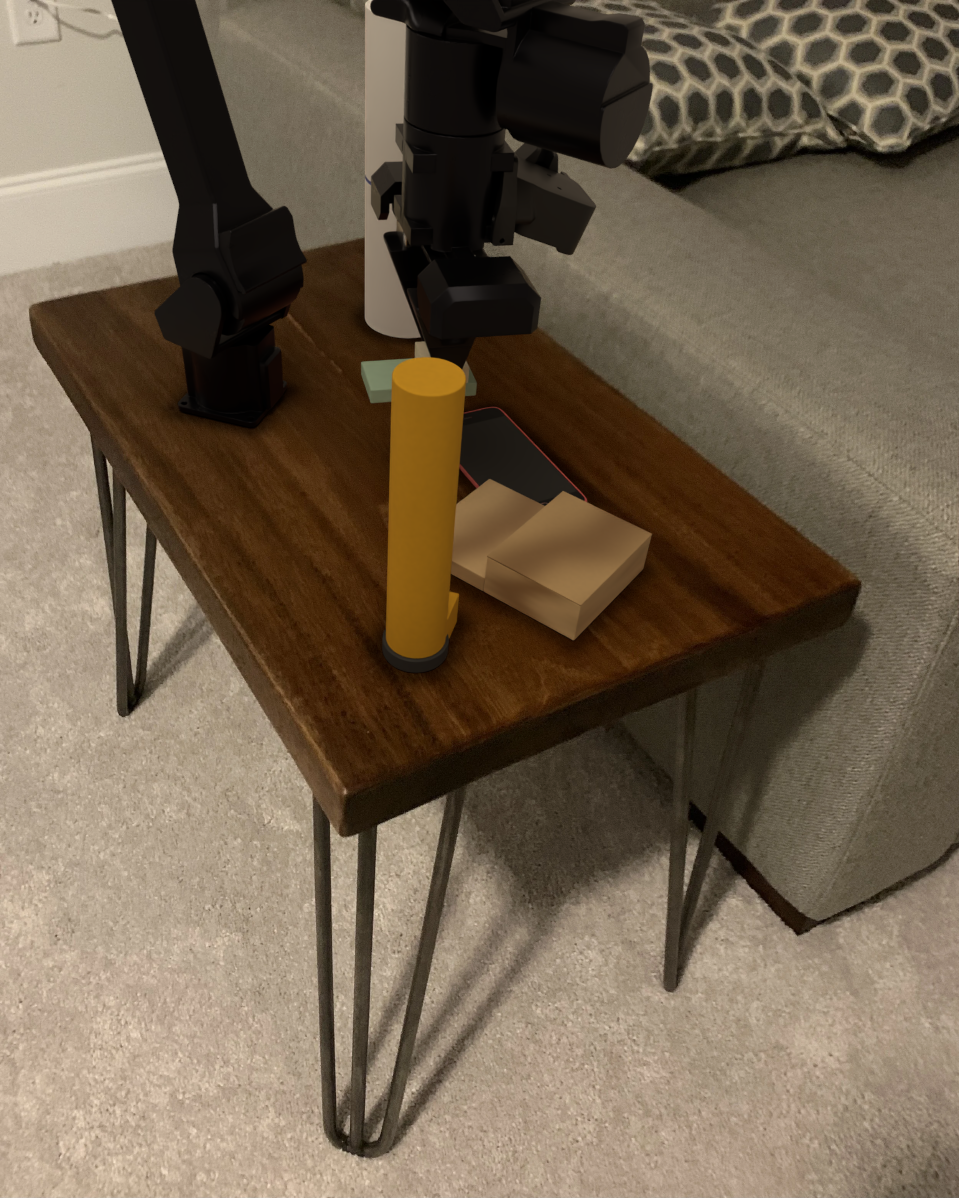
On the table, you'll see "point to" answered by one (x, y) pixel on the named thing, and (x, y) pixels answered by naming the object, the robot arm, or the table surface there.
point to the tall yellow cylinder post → (422, 511)
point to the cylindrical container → (381, 115)
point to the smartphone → (509, 458)
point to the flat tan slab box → (545, 554)
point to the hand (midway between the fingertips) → (440, 367)
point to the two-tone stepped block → (380, 372)
